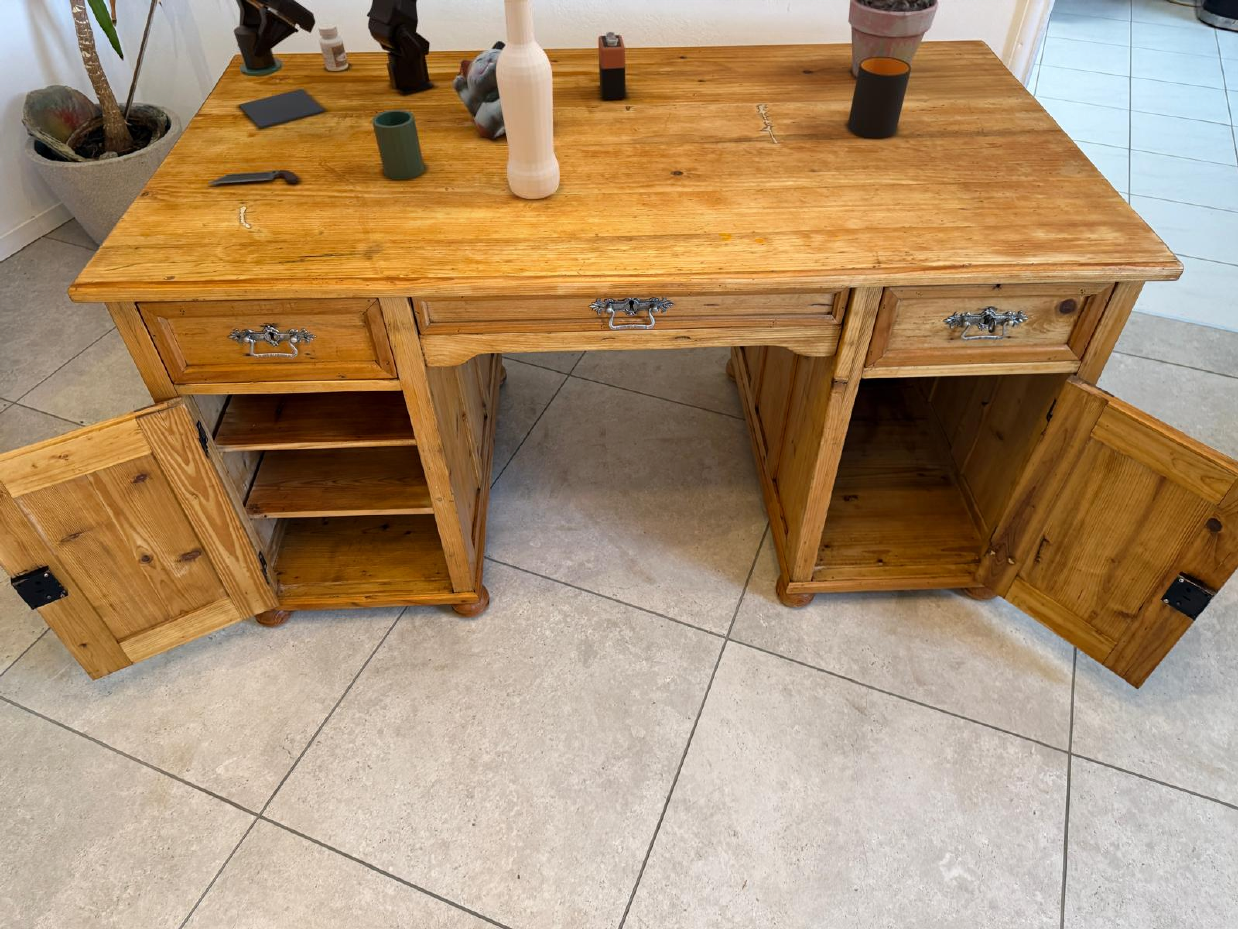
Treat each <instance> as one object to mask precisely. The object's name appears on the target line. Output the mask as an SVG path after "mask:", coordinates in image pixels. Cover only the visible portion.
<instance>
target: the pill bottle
mask: <svg viewBox="0 0 1238 929" xmlns="http://www.w3.org/2000/svg"><path fill="white" fill-rule="evenodd" d="M317 30H318V33H319V36H320V38H319V46H320V49H321V50H320V51H321V54H322V57H323V61H324V66H325V69H326V70H328V71H329V72H339V71H344V70H346V69H347V68H348V67H349V61H348V58H347V53H346V50H345V45H344V41H343V38H342V37H341V36H340V35H338V34H339V32H338V28H337V25H336V24H335V23H331V22H328V23H322V24H319V25H318V26H317Z"/></svg>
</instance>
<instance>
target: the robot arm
mask: <svg viewBox="0 0 1238 929" xmlns="http://www.w3.org/2000/svg"><path fill="white" fill-rule="evenodd" d="M371 1H372V2H371V6H370V9H369V11H368V12H367V14H366V17H368V23H367V29H368V30H369V33H370V36H371V37H372V38H373V40H374V41H375V42H377V43H378V44H379V46H380V47H381V49H382V51H386V52H387V53H386V56H387V60H388V62H386V68H387V72H388V78H389V84H390V86H391V87H393V89H395V90H397V91H398V92H399V93H400V94H401V95H408V94H413V93H417V92H420V91H424V90H427V89H432V88H434V87H435V84H434V83H433V82H432V81H431V80H430V75H429V70H428V63H427V59H426V58H427V57H426V56H429V54H430V47H431V46H430V44H431V43H430V41H428V40H427V39H426V38H425V37H423V36H422V35H421V34H420V33H418V31H417V30H418V25H419V19H418V18H419V17H418V6H417V2H418V0H371ZM235 2H236V4H237V5H238V8H239V24H238V27H239V26H242V25H247V24H261V26H260V29H259V32H258V36H257V39H256V42H255V46H254V50H253V55H254V56H256V57H258V58H260V57H261V56H263V55H264V54H265V53H267V52H268V51H269V50H271V49H272V50H273V48H275V47H276V46H277V45H279V44H280V43H281V42H283V41H284V40H286V39H288V38H289V37H290V36H292V35H294V34H295V33H296V34H297V33H299V31H300V30H299V29H301V30H302V31H305V32H307V33H309V34H311V33H312V31H313V29H314V26H315V25H316V18H315V16H314V13H313V12H311V11H310V10H309V9H308V8H306V7H305V6H304V5H302V4H300V3H299V2H297V1H296V0H235ZM296 25H297V26H299V29H298V28H297V27H296ZM237 47H238V48H239V46H238V45H237Z"/></svg>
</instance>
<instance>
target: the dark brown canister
mask: <svg viewBox="0 0 1238 929" xmlns="http://www.w3.org/2000/svg"><path fill="white" fill-rule="evenodd" d="M260 26H261V24H247V25H242V26H239V25H238V26H237V27H236V28H234V29H233V34H234V37H235V41H236V43H237V47H238V46H239V47H238V49H239V52H240V55H241V57H242V60H243V62H242V63H241V64H240V65H239V71H240V73H241V74H242V75H244V76H247V77H256V78H257V77H258V78H260V77H267V76H271V75H273V74H274V73H277V72H279V71H281V70H282V68H283V67H284V65H283V61H282V59H280V58H278V57H275V56H274V53H273V48H272V49H271V50H269V51H268V52H267V53H265V54H264V55H263V56H261V57H260V58H258V57H256V56H254V55H253V50H254V46H255V42H256V39H257V36H258V32H259V29H260Z"/></svg>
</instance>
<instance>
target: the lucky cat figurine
mask: <svg viewBox="0 0 1238 929" xmlns="http://www.w3.org/2000/svg"><path fill="white" fill-rule="evenodd" d="M505 45H506V43H504V42H503V41H501V40H498V41H496V42H495V43H494V44H493V46H492V47H491V48H490V49H485V50H484V51H482V52H481V53H480V54H478V55H477V56H476V57H475V58H474V59H468V58H466V59H462V60H460V63H459V64H460V67H459V72H458V74H457V75H455V78H454V79H453V80H452V82H451V83H452V87H453V89H454V91H455V92H456V93H457V95H458V97H459V99H460V101H461V102H462V103H463V104H464V106H465V108H466V109H467V111H468V112H469V113H470V115H471V117H472V118H473V120H474V122H475V124H476V128H477V131H478V133H479V134H480V135H481V136H482V137H485V138H488V139H491V140H495V139H497V137H499V136H501V135H503V134H506V130H505V124H504V119H503V113H502V107H501V102H500V96H499V90H498V84H497V78H496V65H497V61H498V58H499V55H500V53H501V51H502V50H503V48H504V47H505Z"/></svg>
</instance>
